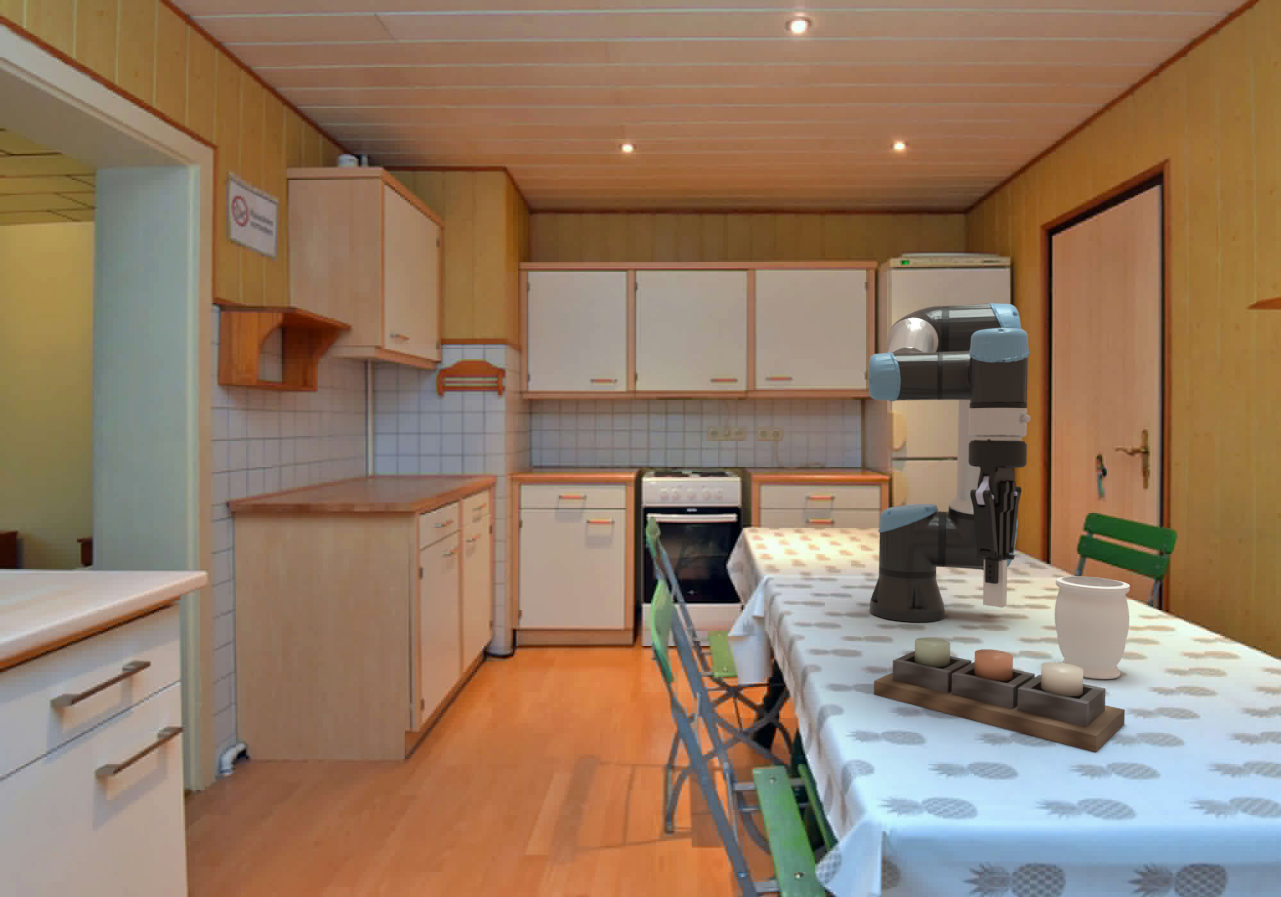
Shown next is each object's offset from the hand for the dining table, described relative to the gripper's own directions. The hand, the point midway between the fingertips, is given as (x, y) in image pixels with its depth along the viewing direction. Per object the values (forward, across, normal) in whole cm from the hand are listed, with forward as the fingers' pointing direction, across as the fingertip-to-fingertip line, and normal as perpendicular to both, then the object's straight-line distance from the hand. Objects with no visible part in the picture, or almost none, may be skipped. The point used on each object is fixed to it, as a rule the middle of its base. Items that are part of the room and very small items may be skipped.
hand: (994, 605), depth 114 cm
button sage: (+10, 0, +9) cm, 14 cm away
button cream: (+10, 0, -9) cm, 13 cm away
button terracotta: (+10, 0, 0) cm, 10 cm away
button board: (+15, 0, 0) cm, 15 cm away
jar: (+15, +29, -5) cm, 33 cm away
